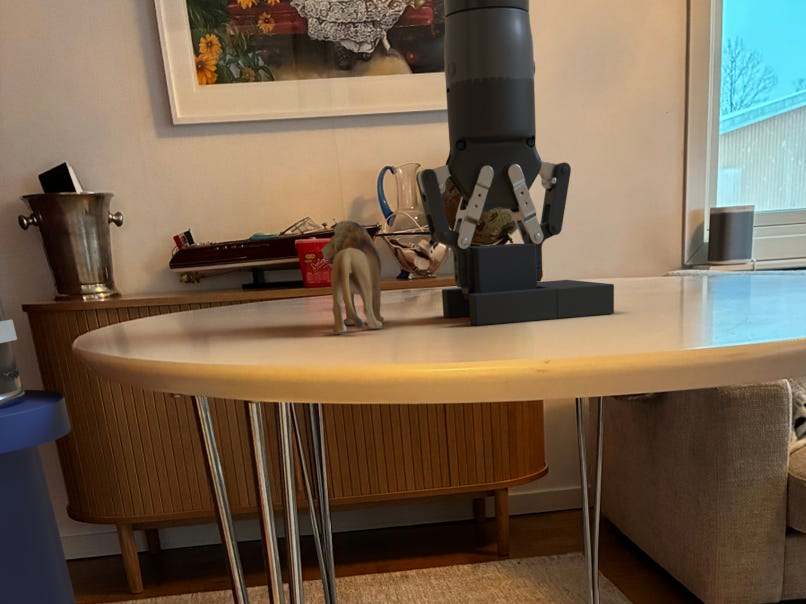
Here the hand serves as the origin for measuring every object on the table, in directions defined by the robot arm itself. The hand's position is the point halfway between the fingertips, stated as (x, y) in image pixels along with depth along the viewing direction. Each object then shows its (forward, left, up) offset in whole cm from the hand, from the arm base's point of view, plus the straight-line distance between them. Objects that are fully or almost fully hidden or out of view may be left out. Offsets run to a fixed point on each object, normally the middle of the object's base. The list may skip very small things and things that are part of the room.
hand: (499, 290), depth 88 cm
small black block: (0, 0, -1) cm, 1 cm away
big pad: (+2, 0, -2) cm, 3 cm away
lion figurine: (-13, +3, -3) cm, 14 cm away
